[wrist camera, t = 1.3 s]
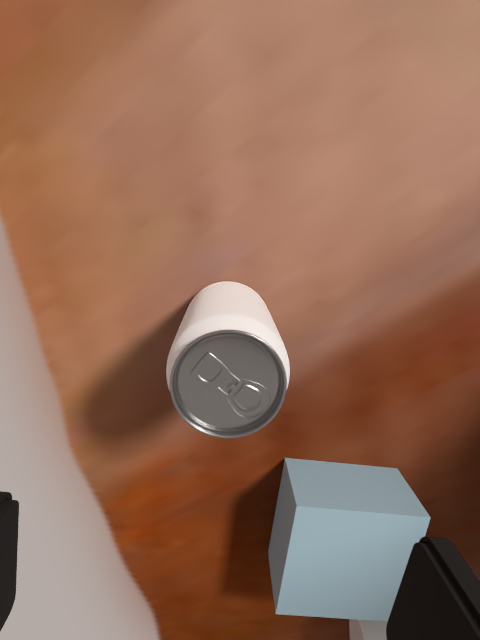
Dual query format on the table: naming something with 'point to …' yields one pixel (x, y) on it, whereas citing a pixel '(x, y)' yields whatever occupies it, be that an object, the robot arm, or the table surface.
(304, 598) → the pedestal block
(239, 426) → the can
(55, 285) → the table surface
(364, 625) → the grey block
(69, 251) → the table surface
